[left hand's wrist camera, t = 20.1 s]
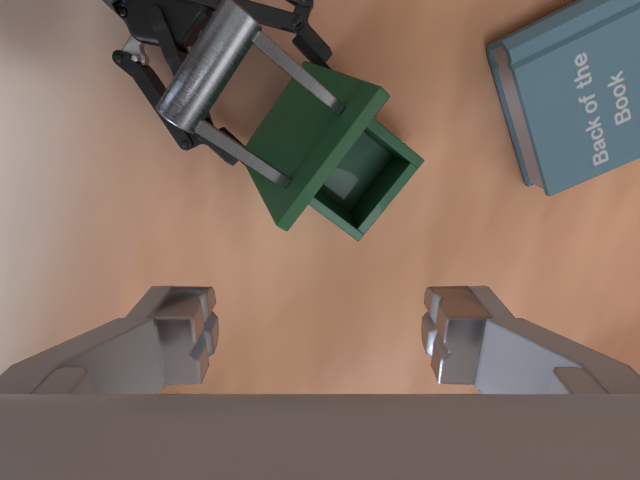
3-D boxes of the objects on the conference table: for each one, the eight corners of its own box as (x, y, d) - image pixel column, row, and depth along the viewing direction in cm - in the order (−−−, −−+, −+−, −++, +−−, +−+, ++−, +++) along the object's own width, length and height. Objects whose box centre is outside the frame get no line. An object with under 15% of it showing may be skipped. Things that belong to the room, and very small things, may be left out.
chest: (402, 154, 43) (424, 160, 35) (350, 220, 45) (358, 241, 37) (309, 78, 41) (308, 64, 32) (258, 151, 43) (244, 156, 34)
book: (525, 185, 45) (549, 196, 40) (484, 45, 40) (506, 40, 35) (734, 94, 41) (787, 94, 37) (719, -73, 36) (779, -97, 31)
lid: (391, 96, 21) (252, -42, 16) (287, 232, 23) (136, 146, 18) (312, 67, 32) (217, -19, 27) (247, 159, 34) (147, 95, 29)
